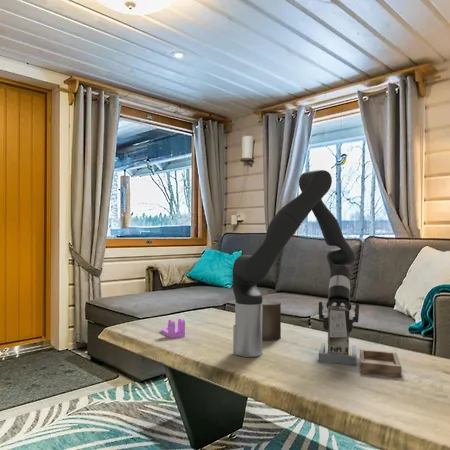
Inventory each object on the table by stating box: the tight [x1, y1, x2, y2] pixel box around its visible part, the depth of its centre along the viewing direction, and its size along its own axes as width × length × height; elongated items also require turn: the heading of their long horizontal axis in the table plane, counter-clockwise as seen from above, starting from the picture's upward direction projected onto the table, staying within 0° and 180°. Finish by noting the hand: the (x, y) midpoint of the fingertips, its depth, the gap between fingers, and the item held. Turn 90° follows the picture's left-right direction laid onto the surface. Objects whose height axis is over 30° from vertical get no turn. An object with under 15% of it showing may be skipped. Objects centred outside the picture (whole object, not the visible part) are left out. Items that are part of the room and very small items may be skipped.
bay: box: [317, 342, 357, 366], centre depth 134 cm, size 11×13×2 cm
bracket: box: [160, 317, 186, 339], centre depth 162 cm, size 13×6×7 cm, turn 30°
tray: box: [359, 348, 402, 378], centre depth 124 cm, size 11×14×3 cm
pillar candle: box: [262, 299, 282, 341], centre depth 158 cm, size 10×10×15 cm
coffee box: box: [327, 306, 350, 355], centre depth 135 cm, size 9×6×16 cm
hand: (337, 330), depth 135 cm, fingers closed on coffee box, 7 cm apart
